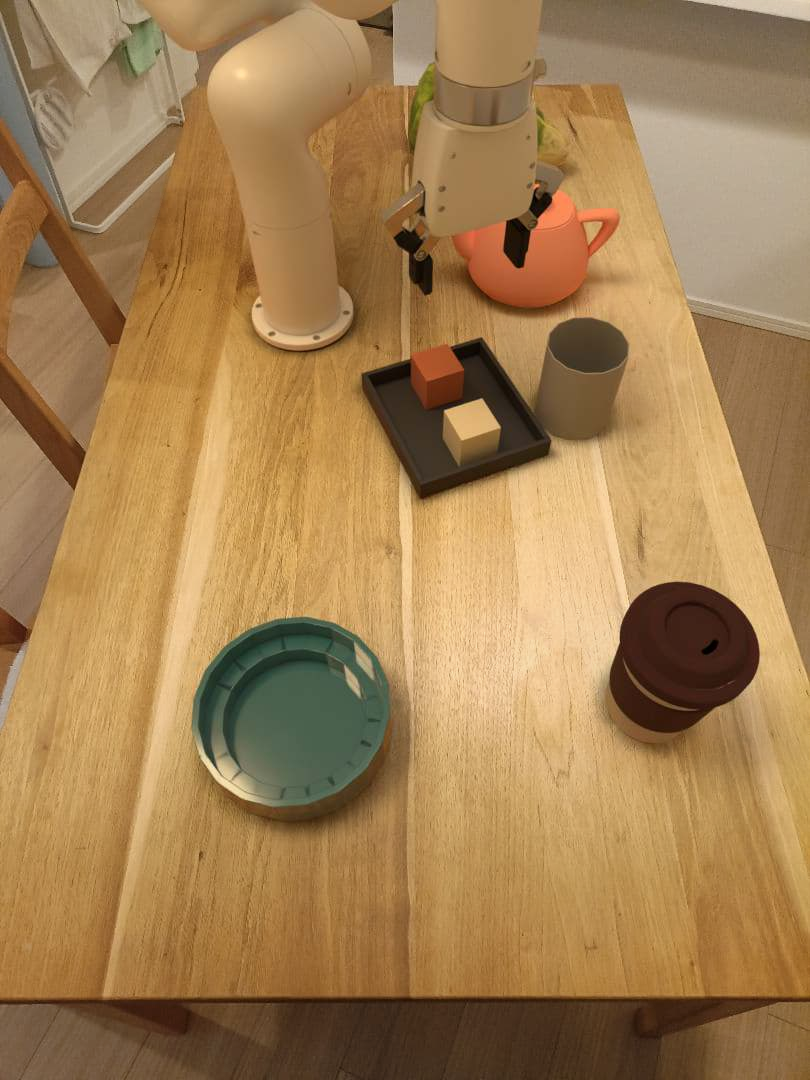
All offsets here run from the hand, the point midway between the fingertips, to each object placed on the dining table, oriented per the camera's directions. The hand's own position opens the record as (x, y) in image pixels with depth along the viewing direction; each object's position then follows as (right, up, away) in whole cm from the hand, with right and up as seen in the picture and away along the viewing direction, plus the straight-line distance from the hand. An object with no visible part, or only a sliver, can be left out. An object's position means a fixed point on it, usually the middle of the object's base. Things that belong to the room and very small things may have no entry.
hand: (468, 272), depth 74 cm
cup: (+13, -11, +13) cm, 22 cm away
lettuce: (+6, +29, +40) cm, 50 cm away
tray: (-1, -12, +13) cm, 18 cm away
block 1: (-2, -8, +15) cm, 17 cm away
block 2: (+1, -15, +10) cm, 18 cm away
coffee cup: (+15, -40, -5) cm, 43 cm away
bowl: (-15, -42, -6) cm, 45 cm away
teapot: (+9, +8, +26) cm, 29 cm away
